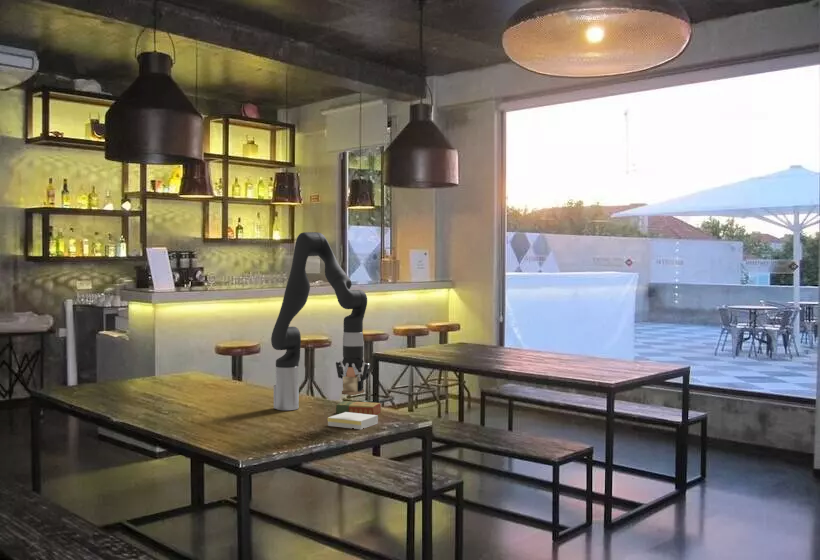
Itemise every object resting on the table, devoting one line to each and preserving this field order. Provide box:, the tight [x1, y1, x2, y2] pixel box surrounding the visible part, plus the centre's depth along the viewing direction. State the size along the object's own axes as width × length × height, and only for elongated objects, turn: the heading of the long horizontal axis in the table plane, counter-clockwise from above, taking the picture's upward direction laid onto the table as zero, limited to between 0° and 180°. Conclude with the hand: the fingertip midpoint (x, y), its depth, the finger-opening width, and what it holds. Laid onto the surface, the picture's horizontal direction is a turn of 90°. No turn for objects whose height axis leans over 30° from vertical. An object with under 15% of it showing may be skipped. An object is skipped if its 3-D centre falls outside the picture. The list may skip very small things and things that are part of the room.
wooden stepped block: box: [341, 376, 365, 396], centre depth 283 cm, size 5×7×6 cm
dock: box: [327, 412, 379, 430], centre depth 283 cm, size 14×12×3 cm
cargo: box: [347, 367, 357, 377], centre depth 283 cm, size 4×4×4 cm
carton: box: [335, 400, 382, 415], centre depth 305 cm, size 8×16×4 cm, turn 71°
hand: (353, 390), depth 283 cm, fingers closed on wooden stepped block, 5 cm apart
